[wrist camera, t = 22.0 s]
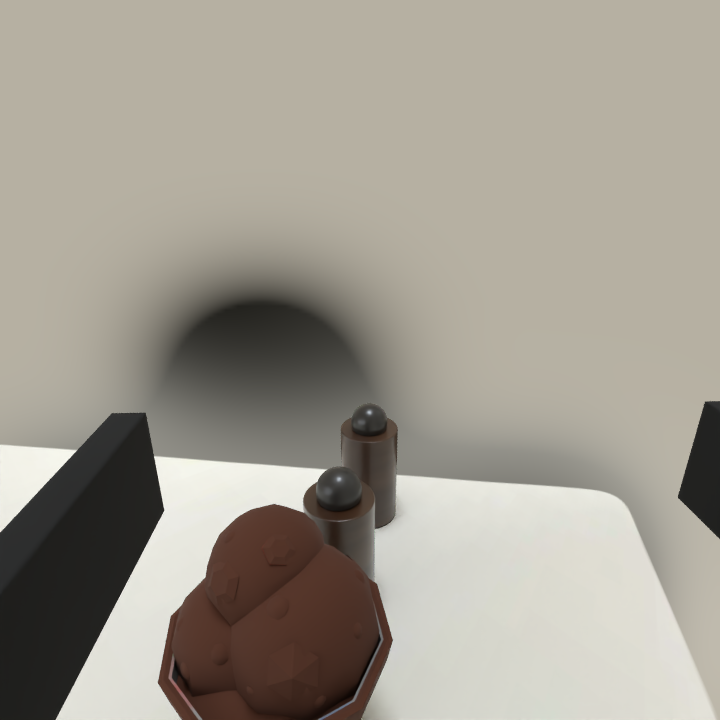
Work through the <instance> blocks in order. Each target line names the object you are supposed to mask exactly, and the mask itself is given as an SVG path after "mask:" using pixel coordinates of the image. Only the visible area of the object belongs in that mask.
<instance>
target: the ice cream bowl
mask: <svg viewBox="0 0 720 720" xmlns="http://www.w3.org/2000/svg"><path fill="white" fill-rule="evenodd" d="M392 641H393V639H392V636H391V632H390V629H389V625H388V622H387V618H386V615H385V611H384V608H383V604H382V601H381V597H380V593H379V590H378V586H377V584H376V583H375V582H374V581H372V580H371V579H369V578H368V576H367V575H366V573H365V572H364V571H363V570H362V568H361V567H360V566H359V565H358V564H357V563H356V562H355V561H354V560H353V559H352V558H351V557H349V556H348V555H344V554H343V553H342V552H340V551H339V550H338V549H336V548H335V547H333V546H330V545H327V544H324V539H323V534H322V533H321V531H320V530H319V528H318V526H317V525H316V523H315V521H313V520H312V519H310V518H309V517H308V516H307V515H306V513H303V512H300V511H297V510H294V509H291V508H288V507H284V506H280V505H276V504H273V505H268V506H264V507H260V508H255V509H252V510H250V511H248V512H246V513H244V514H242V515H240V516H239V517H238V518H236V519H235V520H234V521H233V522H232V523H231V524H230V525H229V526H228V527H227V528H226V529H225V530H224V531H223V532H222V533H221V534H220V535H219V537H218V539H217V541H216V543H215V545H214V547H213V549H212V553H211V556H210V559H209V562H208V566H207V572H206V577H205V579H204V580H203V581H202V582H201V583H200V584H199V585H198V586H197V587H196V588H195V589H194V590H193V591H192V592H191V593H190V594H189V595H188V596H187V597H186V598H185V600H184V602H183V604H182V606H181V607H180V608H179V609H178V610H177V611H176V612H175V613H174V614H173V615H172V616H171V619H170V624H169V629H168V634H167V639H166V644H165V649H164V654H163V660H162V665H161V670H160V675H159V680H158V684H159V685H160V687H161V689H162V690H163V692H164V694H165V695H166V697H167V698H168V700H169V702H170V703H171V705H172V706H173V707H174V709H175V710H176V712H177V713H178V715H179V716H180V718H181V719H182V720H361V718H362V715H363V713H364V711H365V709H366V706H367V704H368V702H369V700H370V697H371V695H372V693H373V690H374V688H375V686H376V684H377V681H378V679H379V677H380V675H381V672H382V670H383V668H384V665H385V663H386V661H387V658H388V654H389V651H390V648H391V645H392Z"/></svg>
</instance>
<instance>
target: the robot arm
mask: <svg viewBox="0 0 720 720" xmlns="http://www.w3.org/2000/svg"><path fill="white" fill-rule="evenodd" d="M678 498H679V499H680V500H681V501H682V502H683V503H684V504H685V505H686V506H687V507H688V508H689V509H690V510H691V511H692V512H693V513H694V514H695V515H696V516H697V517H698V518H699V519H700V520H701V521H702V522H703V523H704V524H705V525H706V526H707V527H708V528H709V529H710V530H711V531H712V532H713V533H714V534H715V535H716V536H717V537H719V539H720V401H712V402H711V401H710V402H705V404H704V408H703V411H702V414H701V418H700V421H699V425H698V428H697V432H696V436H695V439H694V442H693V446H692V449H691V453H690V456H689V460H688V463H687V467H686V470H685V474H684V477H683V481H682V484H681V488H680V491H679V495H678ZM163 512H164V507H163V502H162V496H161V491H160V486H159V481H158V475H157V470H156V465H155V459H154V454H153V449H152V444H151V438H150V433H149V428H148V422H147V417H146V413H112V414H111V415H110V416H109V417H108V418H107V419H106V420H105V421H104V422H103V423H102V425H101V426H100V427H99V428H98V429H97V430H96V431H95V432H94V433H93V434H92V435H91V436H90V437H89V438H88V439H87V441H86V442H85V443H84V444H83V445H82V446H81V447H80V448H79V449H78V450H77V451H76V452H75V453H74V454H73V456H72V457H71V458H70V459H69V460H68V461H67V462H66V463H65V464H64V465H63V466H62V467H61V468H60V469H59V470H58V472H57V473H56V474H55V475H54V476H53V477H52V478H51V479H50V480H49V481H48V482H47V483H46V484H45V485H44V486H43V488H42V489H41V490H40V491H39V492H38V493H37V494H36V495H35V496H34V497H33V498H32V499H31V500H30V501H29V503H28V504H27V505H26V506H25V507H24V508H23V509H22V510H21V511H20V512H19V513H18V514H17V515H16V516H15V517H14V519H13V520H12V521H11V522H10V523H9V524H8V525H7V526H6V527H5V528H4V529H3V530H2V531H1V532H0V720H56V718H57V716H58V714H59V712H60V710H61V708H62V706H63V704H64V702H65V700H66V699H67V697H68V695H69V693H70V691H71V689H72V687H73V685H74V683H75V681H76V679H77V677H78V675H79V674H80V672H81V670H82V668H83V666H84V664H85V662H86V660H87V658H88V656H89V654H90V652H91V650H92V649H93V647H94V645H95V643H96V641H97V639H98V637H99V635H100V633H101V631H102V629H103V627H104V625H105V624H106V622H107V620H108V618H109V616H110V614H111V612H112V610H113V608H114V606H115V604H116V602H117V600H118V598H119V597H120V595H121V593H122V591H123V589H124V587H125V585H126V583H127V581H128V579H129V577H130V575H131V573H132V572H133V570H134V568H135V566H136V564H137V562H138V560H139V558H140V556H141V554H142V552H143V550H144V548H145V547H146V545H147V543H148V541H149V539H150V537H151V535H152V533H153V531H154V529H155V527H156V525H157V523H158V521H159V520H160V518H161V516H162V514H163Z"/></svg>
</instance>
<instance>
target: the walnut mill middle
mask: <svg viewBox="0 0 720 720" xmlns="http://www.w3.org/2000/svg"><path fill="white" fill-rule="evenodd" d="M303 507H304V513H306V515H307V516H308V517H309V518H310V519H312V520H313V521H315V523H316V525H317V526H318V528H319V530H320V531H321V533H322V534H323V539H324V544H327V545H330V546H333V547H335V548H336V549H338V550H339V551H340V552H342V553H343V554H344V555H348V556H349V557H351V558H352V559H353V560H354V561H355V562H356V563H357V564H358V565H359V566H360V567H361V568H362V570H363V571H364V572H365V573H366V575H367V576H368V578H369V579H371V580H372V581H374V552H375V495H374V493H373V491H372V489H371V488H370V487H369V486H368V485H367V484H366V483H364V482H362V481H360V479H359V478H358V476H357V475H356V474H355V473H354V472H353V471H352V470H350V469H348V468H346V467H333V468H330V469H328V470H326V471H325V472H324V473H323V474H322V475H321V476H320V478H319V480H318V482H317V483H315V484H313V485H312V486H311V487H310V488H309V489H308V490H307V491H306V493H305V495H304V498H303Z"/></svg>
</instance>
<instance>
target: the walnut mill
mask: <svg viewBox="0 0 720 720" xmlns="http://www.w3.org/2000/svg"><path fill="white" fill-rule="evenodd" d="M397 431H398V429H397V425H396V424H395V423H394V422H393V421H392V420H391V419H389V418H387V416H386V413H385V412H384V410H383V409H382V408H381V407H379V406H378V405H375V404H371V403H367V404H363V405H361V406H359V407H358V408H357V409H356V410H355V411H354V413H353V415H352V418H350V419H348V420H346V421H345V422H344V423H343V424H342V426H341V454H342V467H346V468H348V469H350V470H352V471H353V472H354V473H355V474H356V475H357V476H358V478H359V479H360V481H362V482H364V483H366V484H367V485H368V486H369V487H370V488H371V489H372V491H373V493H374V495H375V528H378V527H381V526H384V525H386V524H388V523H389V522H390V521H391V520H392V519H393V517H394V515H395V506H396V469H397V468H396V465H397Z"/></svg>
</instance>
